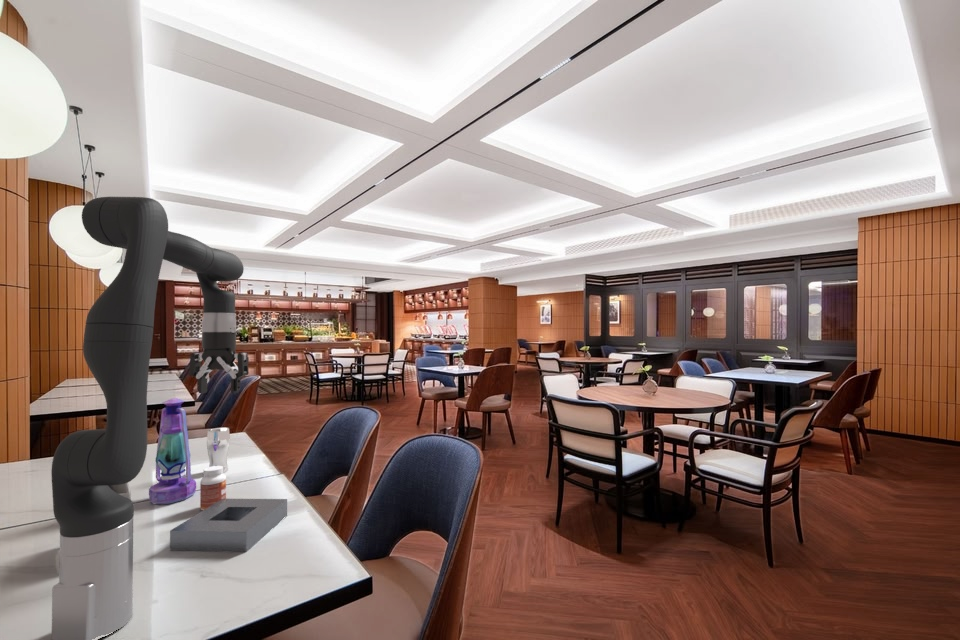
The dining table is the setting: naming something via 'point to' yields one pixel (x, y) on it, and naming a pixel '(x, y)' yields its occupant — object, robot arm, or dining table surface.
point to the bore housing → (228, 525)
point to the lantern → (172, 457)
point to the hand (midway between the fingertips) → (219, 393)
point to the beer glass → (218, 447)
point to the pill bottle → (212, 486)
